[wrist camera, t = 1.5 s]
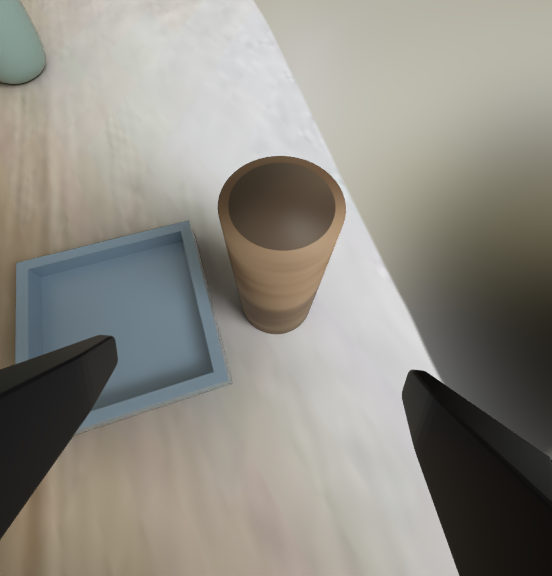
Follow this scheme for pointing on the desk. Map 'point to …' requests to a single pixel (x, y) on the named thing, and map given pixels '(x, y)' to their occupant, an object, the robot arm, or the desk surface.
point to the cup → (19, 45)
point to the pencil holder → (280, 236)
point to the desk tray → (127, 317)
